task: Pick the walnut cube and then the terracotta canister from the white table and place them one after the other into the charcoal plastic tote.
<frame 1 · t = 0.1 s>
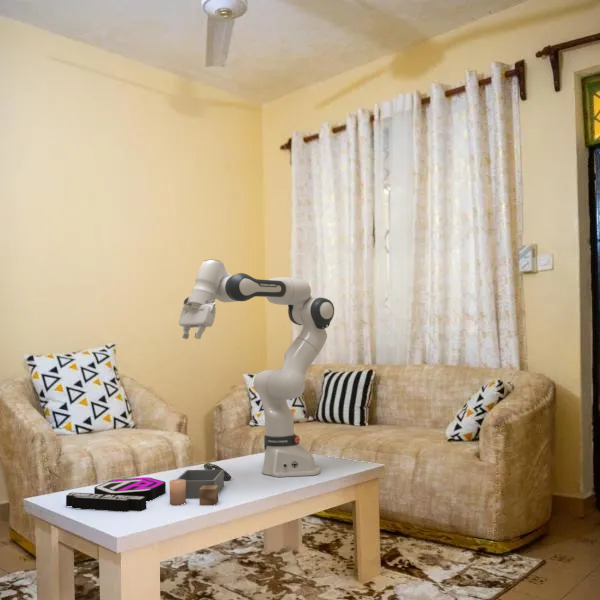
hand: (191, 338, 227), 52 cm above the table, tool tilted 20°, fingers open, 8 cm apart
walnut cube: (209, 503, 202), on the table
sign: (124, 499, 211), on the table
tote: (200, 491, 217), on the table
terracotta canister: (177, 503, 203), on the table
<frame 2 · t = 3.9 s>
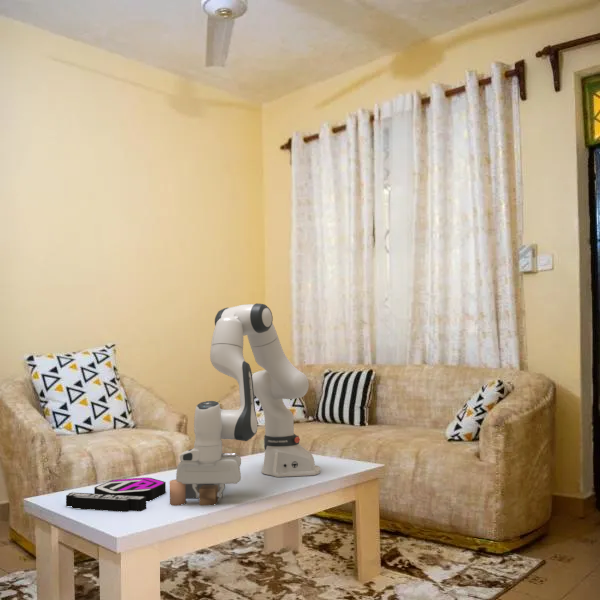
hand: (208, 497, 202), 2 cm above the table, tool pointing down, fingers closed on walnut cube, 5 cm apart
walnut cube: (209, 503, 202), on the table, touching gripper
everything else where it was.
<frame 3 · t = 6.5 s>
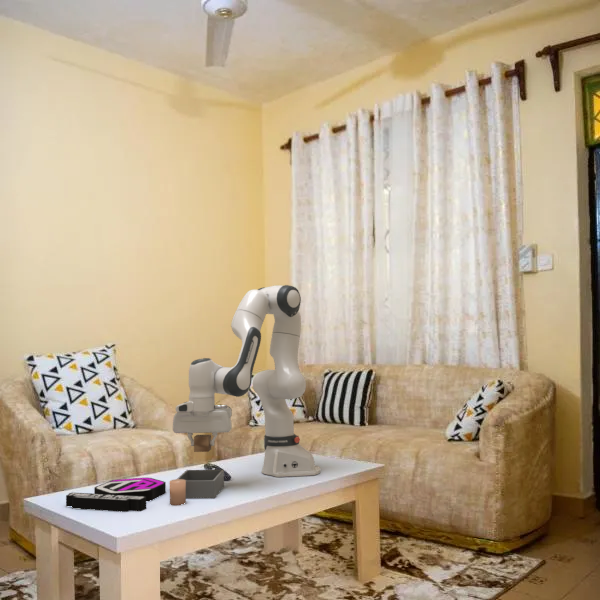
hand: (202, 445, 222), 15 cm above the table, tool pointing down, fingers closed on walnut cube, 5 cm apart
walnut cube: (202, 450, 222), point 13 cm above the table, touching gripper
everything else where it was.
when the fingers open (4 cm above the table, at t = 8.9 s): walnut cube drops 2 cm, resting on tote.
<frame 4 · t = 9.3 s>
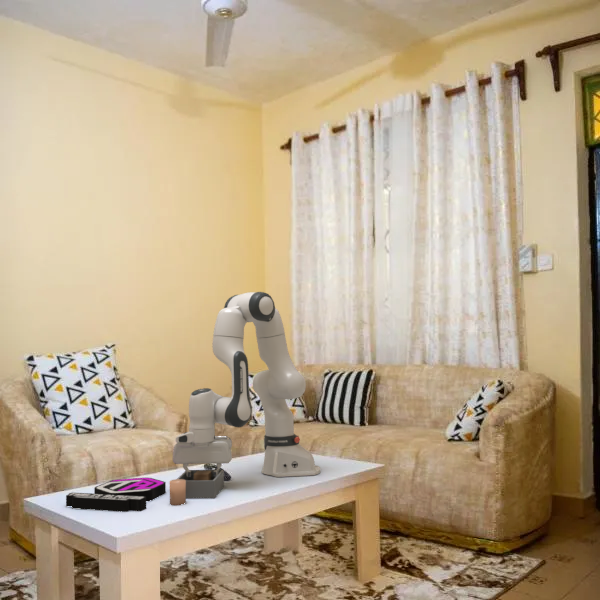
hand: (202, 476, 221), 4 cm above the table, tool pointing down, fingers open, 8 cm apart
walnut cube: (202, 487, 221), point 1 cm above the table, touching tote
everything else where it was.
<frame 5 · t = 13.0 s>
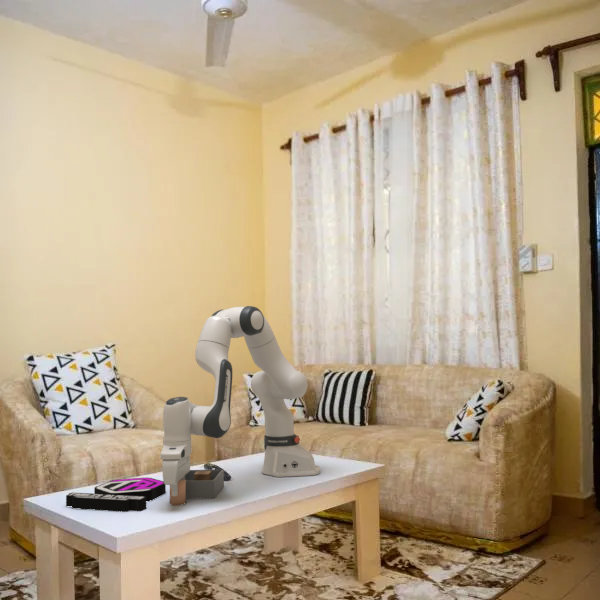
hand: (177, 493, 203), 3 cm above the table, tool pointing down, fingers closed on terracotta canister, 5 cm apart
terracotta canister: (177, 503, 203), on the table, touching gripper
everything else where it was.
when the fingers open (6 cm above the table, at t = 17.3 s): terracotta canister drops 2 cm, resting on tote.
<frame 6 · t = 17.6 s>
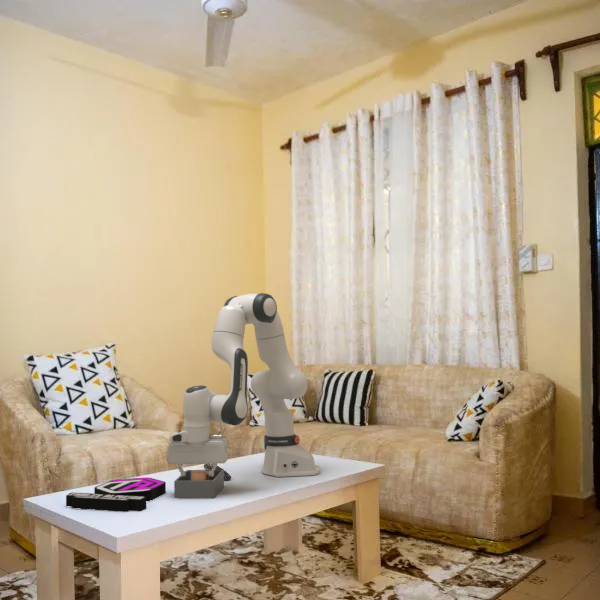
hand: (197, 476, 213), 6 cm above the table, tool pointing down, fingers open, 8 cm apart
terracotta canister: (198, 492, 213), point 1 cm above the table, touching tote
everything else where it was.
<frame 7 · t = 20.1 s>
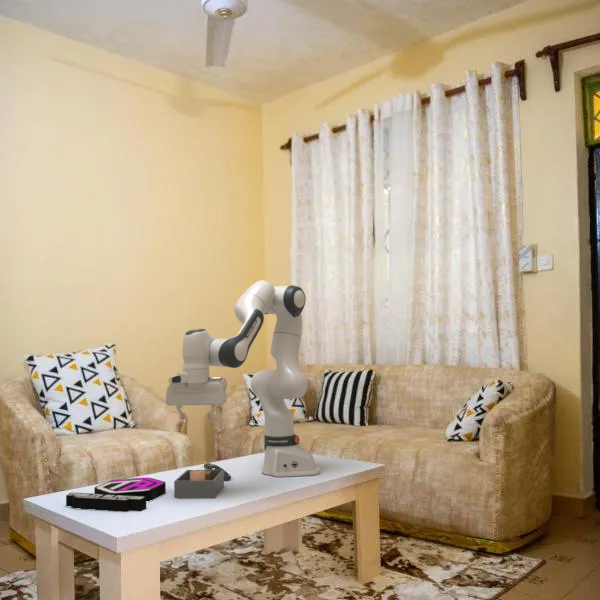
hand: (196, 418, 214), 25 cm above the table, tool pointing down, fingers open, 8 cm apart
nothing on the table moved.
at the end: walnut cube inside the target area on the tote (4.0 cm from its centre), point 0.6 cm above the tote's base; terracotta canister inside the target area on the tote (3.8 cm from its centre), point 0.7 cm above the tote's base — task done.
